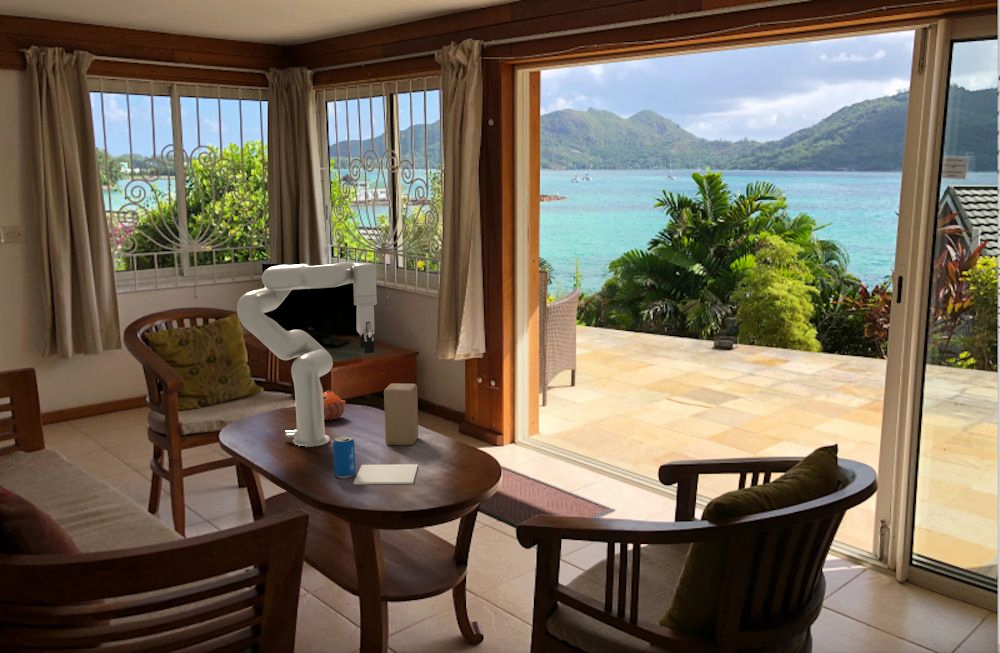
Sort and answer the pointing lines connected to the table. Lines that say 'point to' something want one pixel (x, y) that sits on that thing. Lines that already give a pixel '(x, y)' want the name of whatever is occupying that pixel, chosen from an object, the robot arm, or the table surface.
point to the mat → (386, 474)
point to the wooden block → (401, 414)
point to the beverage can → (344, 456)
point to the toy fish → (332, 406)
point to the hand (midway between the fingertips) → (367, 350)
